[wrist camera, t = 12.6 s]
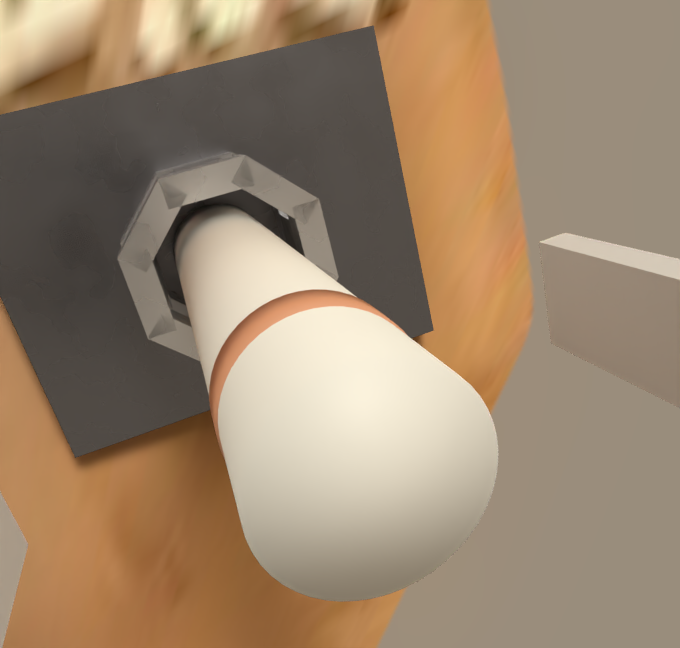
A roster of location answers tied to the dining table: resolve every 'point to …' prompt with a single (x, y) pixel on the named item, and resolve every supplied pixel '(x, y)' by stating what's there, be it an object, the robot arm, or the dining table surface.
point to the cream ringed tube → (329, 417)
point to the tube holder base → (177, 203)
